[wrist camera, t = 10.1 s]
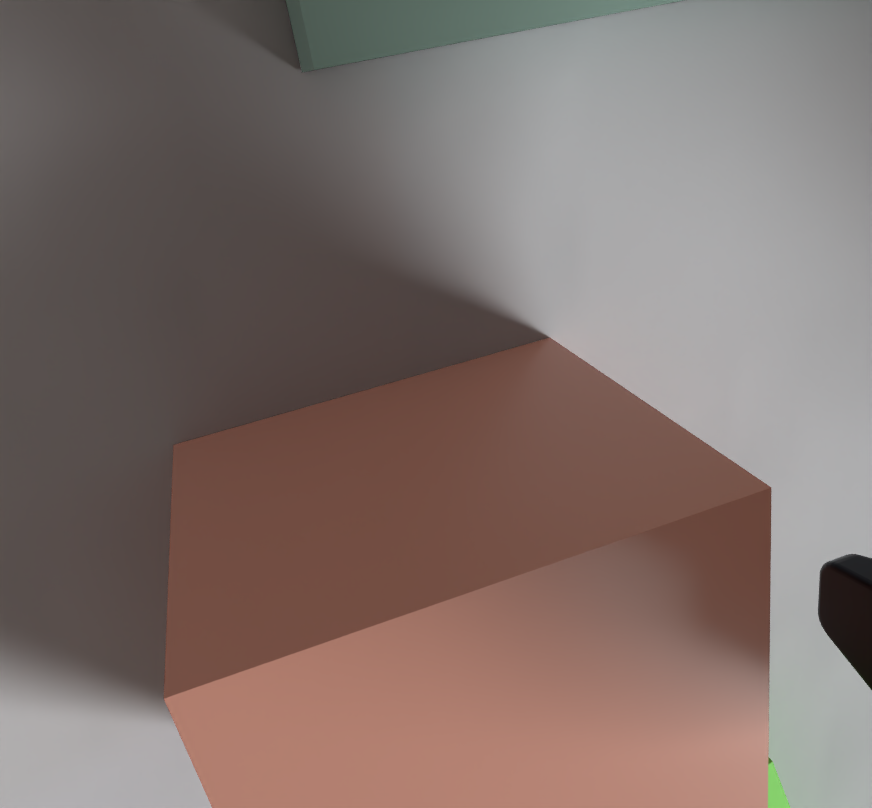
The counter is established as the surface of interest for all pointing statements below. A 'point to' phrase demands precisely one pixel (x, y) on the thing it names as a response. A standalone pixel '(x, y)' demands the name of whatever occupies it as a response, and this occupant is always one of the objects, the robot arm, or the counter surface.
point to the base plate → (424, 24)
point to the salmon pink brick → (471, 600)
